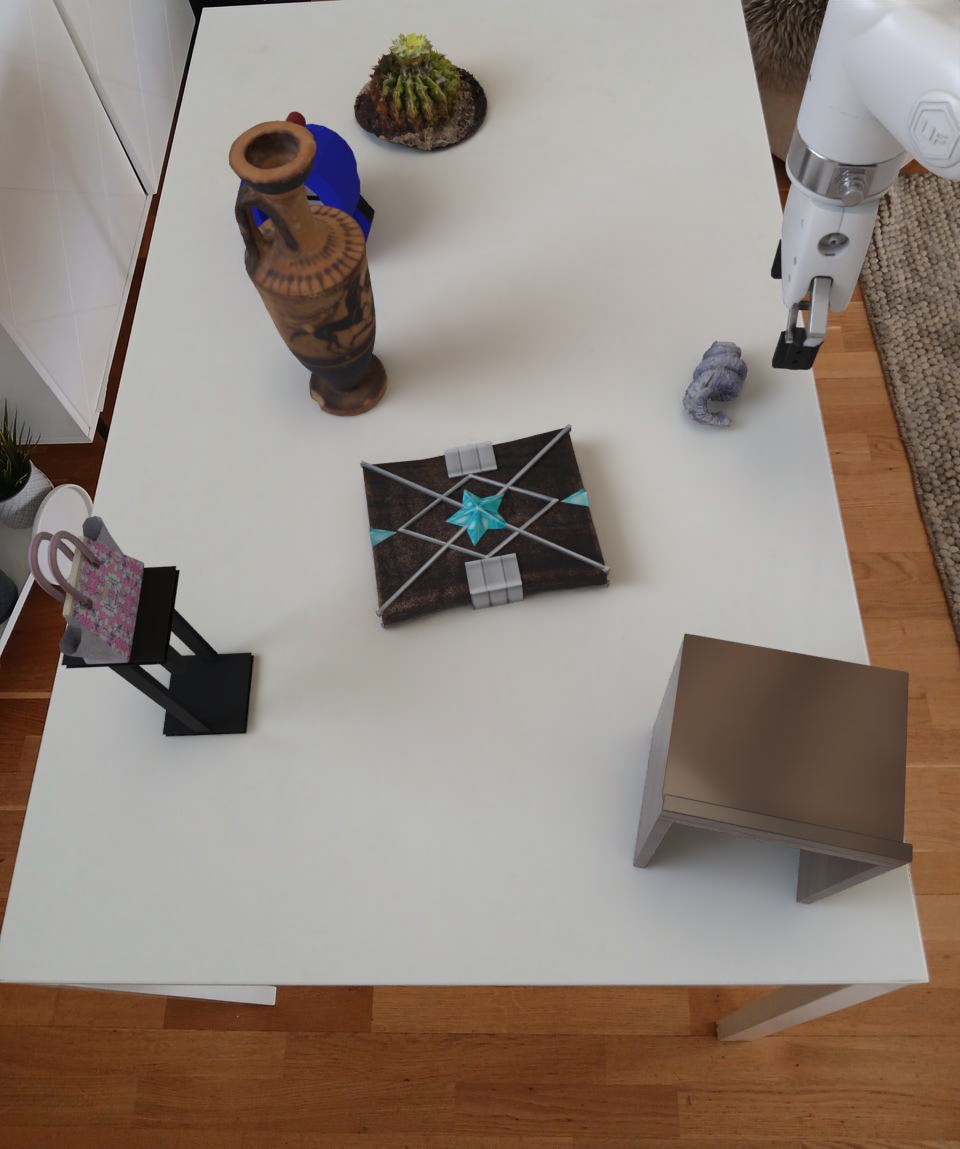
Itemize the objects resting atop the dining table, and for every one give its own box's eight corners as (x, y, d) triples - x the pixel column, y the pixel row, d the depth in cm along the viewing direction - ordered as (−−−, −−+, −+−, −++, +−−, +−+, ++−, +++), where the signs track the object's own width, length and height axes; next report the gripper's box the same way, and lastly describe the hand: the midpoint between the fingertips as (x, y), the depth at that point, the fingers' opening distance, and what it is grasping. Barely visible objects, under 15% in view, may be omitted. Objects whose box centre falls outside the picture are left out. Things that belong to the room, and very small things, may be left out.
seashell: (706, 442, 93) (723, 367, 97) (747, 423, 88) (762, 345, 92) (669, 415, 91) (687, 339, 95) (709, 394, 86) (726, 315, 90)
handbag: (244, 748, 81) (88, 620, 54) (163, 751, 82) (-32, 626, 55) (255, 639, 86) (115, 470, 59) (178, 642, 86) (4, 477, 59)
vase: (407, 347, 99) (350, 101, 72) (390, 429, 95) (324, 199, 68) (311, 342, 101) (220, 99, 74) (290, 423, 96) (186, 195, 69)
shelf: (819, 758, 77) (918, 663, 56) (808, 904, 72) (913, 862, 51) (653, 726, 79) (687, 623, 58) (632, 866, 74) (661, 810, 53)
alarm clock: (256, 267, 106) (212, 159, 93) (282, 191, 111) (244, 79, 98) (357, 274, 105) (327, 165, 91) (379, 196, 110) (353, 82, 96)
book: (383, 631, 85) (373, 610, 81) (363, 480, 92) (353, 453, 88) (610, 588, 85) (613, 565, 81) (572, 441, 93) (573, 412, 88)
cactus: (508, 85, 116) (504, 10, 108) (454, 168, 111) (445, 96, 102) (390, 56, 121) (377, -19, 112) (332, 135, 115) (313, 63, 106)
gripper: (914, 246, 58) (839, 406, 73) (896, 65, 65) (831, 245, 80) (792, 242, 59) (744, 401, 74) (788, 64, 66) (744, 243, 81)
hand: (789, 320), depth 77 cm, fingers open, 9 cm apart
